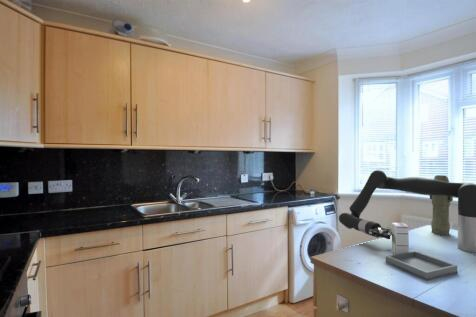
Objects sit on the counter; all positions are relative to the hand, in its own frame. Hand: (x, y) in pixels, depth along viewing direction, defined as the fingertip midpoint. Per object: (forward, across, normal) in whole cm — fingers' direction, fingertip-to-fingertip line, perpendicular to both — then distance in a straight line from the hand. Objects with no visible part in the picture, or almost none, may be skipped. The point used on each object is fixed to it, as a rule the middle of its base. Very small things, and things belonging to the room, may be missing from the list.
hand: (396, 236), depth 130 cm
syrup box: (+2, 0, +8) cm, 8 cm away
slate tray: (+16, -6, +8) cm, 19 cm away
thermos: (-14, +54, +8) cm, 56 cm away
